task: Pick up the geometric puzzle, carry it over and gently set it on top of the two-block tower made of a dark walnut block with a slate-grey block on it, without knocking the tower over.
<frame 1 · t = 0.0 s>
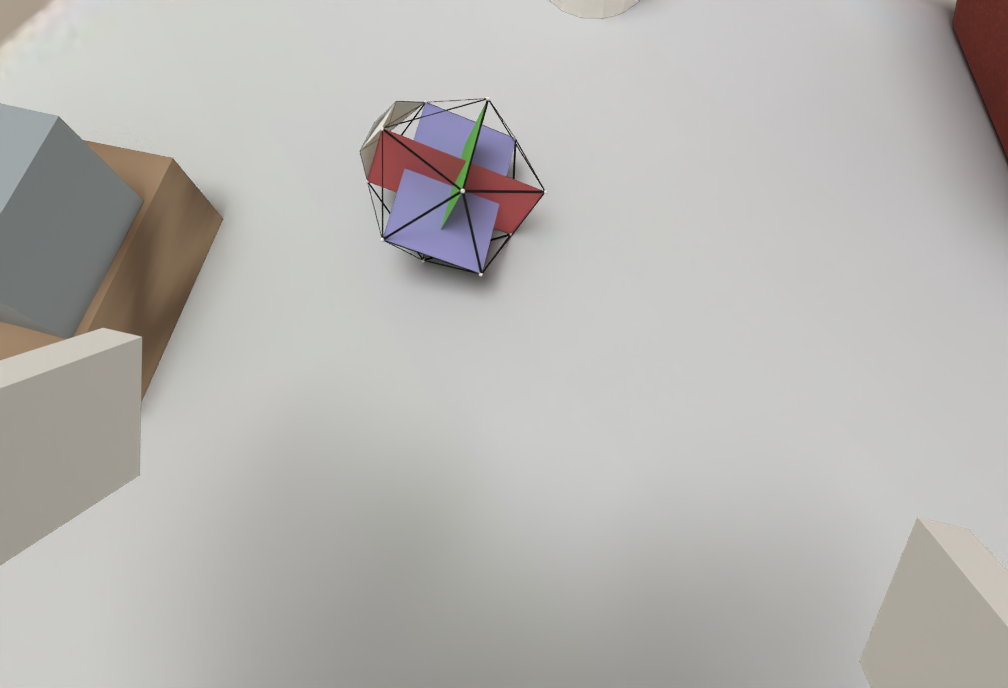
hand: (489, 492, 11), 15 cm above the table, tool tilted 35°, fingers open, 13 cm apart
tower base block: (83, 294, 30), on the table, touching tower top block
tower top block: (5, 242, 26), point 5 cm above the table, touching tower base block
geometric puzzle: (461, 228, 31), on the table
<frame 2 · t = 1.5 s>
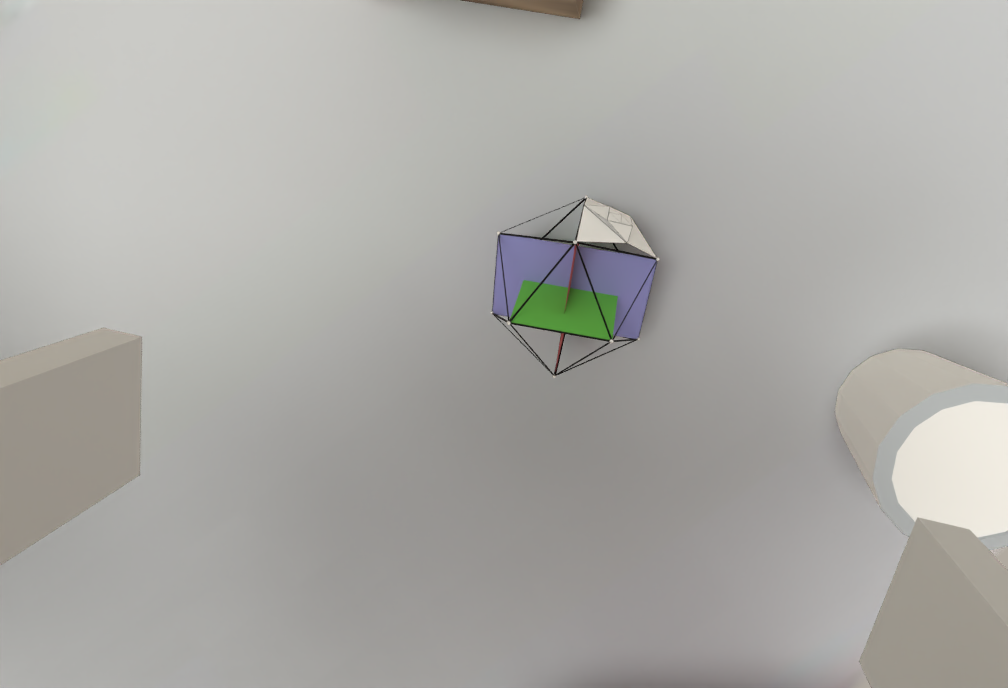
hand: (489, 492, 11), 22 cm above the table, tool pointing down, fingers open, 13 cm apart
geometric puzzle: (575, 275, 32), on the table
white cup: (897, 404, 31), on the table
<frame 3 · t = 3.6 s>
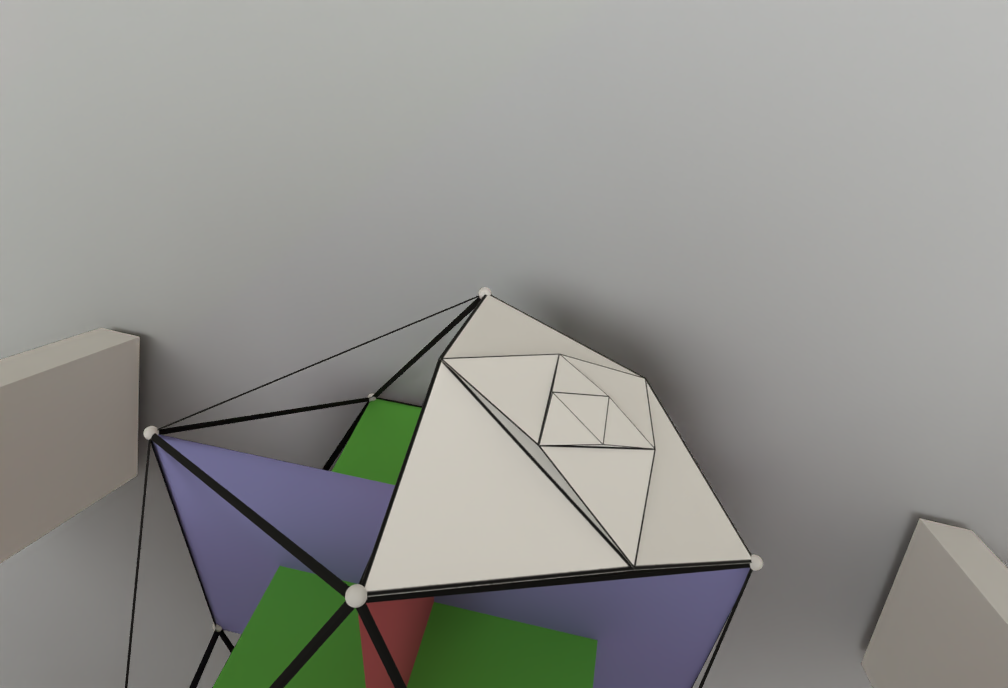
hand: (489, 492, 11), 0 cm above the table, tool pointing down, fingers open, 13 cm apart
geometric puzzle: (485, 480, 12), on the table
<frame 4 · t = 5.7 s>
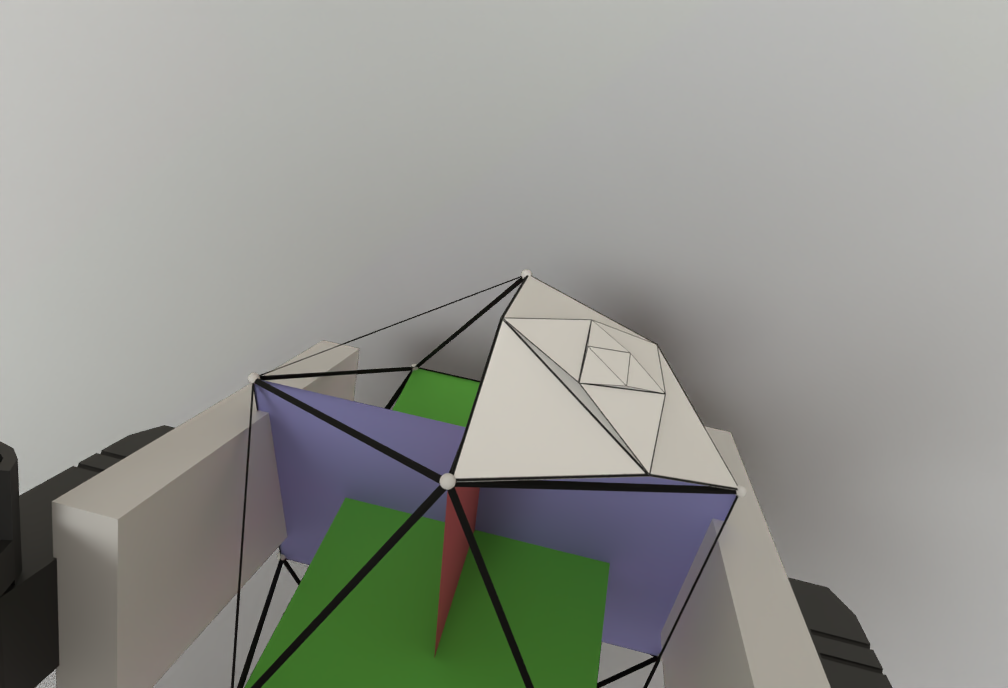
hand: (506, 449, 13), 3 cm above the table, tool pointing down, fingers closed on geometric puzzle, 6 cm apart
geometric puzzle: (510, 443, 13), point 3 cm above the table, touching gripper
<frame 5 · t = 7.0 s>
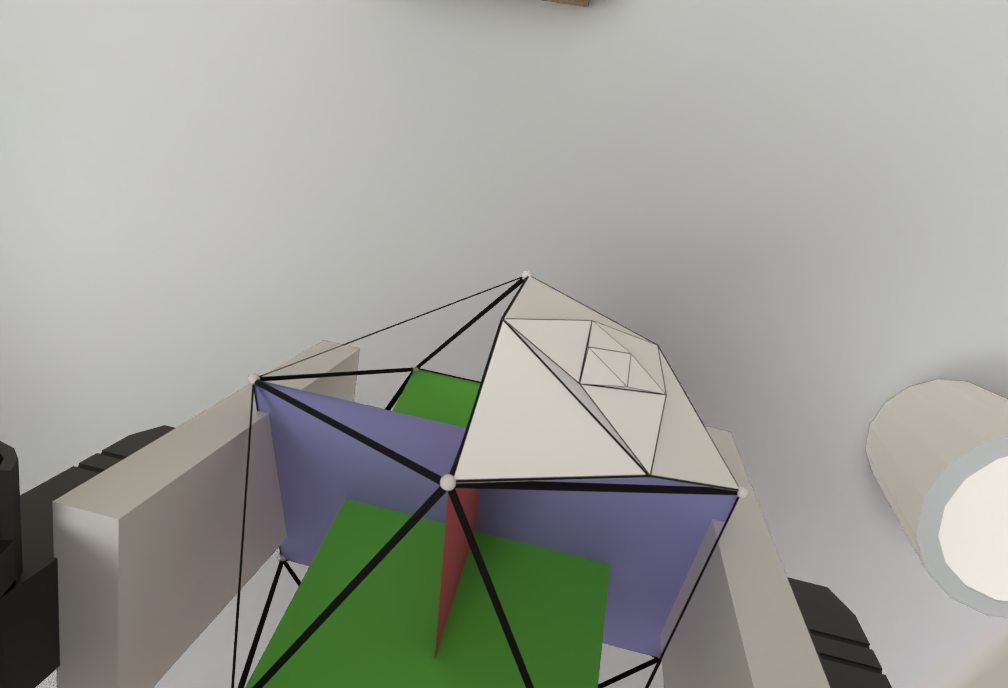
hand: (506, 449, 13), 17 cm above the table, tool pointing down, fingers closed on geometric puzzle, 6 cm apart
geometric puzzle: (510, 444, 13), point 16 cm above the table, touching gripper
white cup: (936, 441, 28), on the table
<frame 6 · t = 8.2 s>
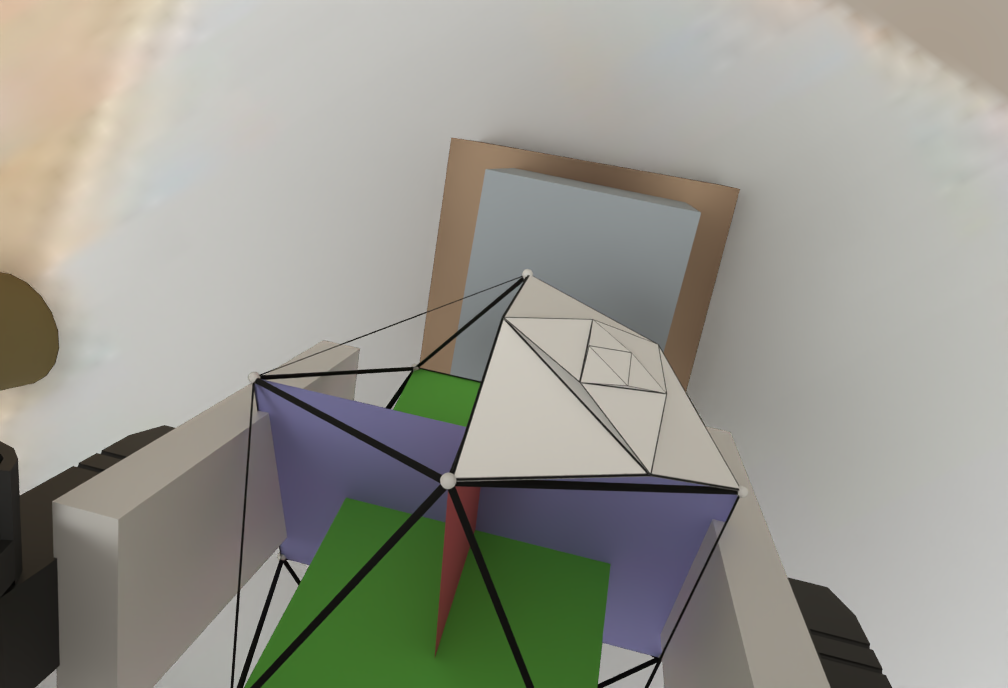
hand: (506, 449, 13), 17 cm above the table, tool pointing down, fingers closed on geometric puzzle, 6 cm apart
tower base block: (573, 280, 29), on the table, touching tower top block
cork: (9, 328, 35), on the table
tower top block: (570, 309, 24), point 5 cm above the table, touching tower base block
geometric puzzle: (510, 443, 13), point 16 cm above the table, touching gripper
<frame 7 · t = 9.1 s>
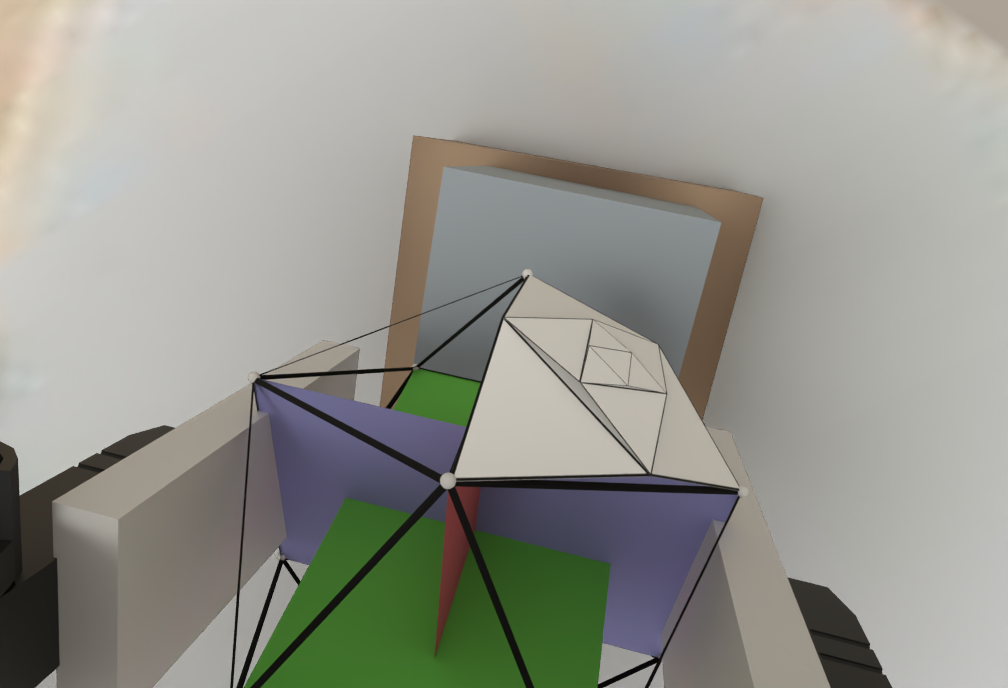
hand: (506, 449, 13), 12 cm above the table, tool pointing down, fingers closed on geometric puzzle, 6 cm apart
tower base block: (563, 301, 25), on the table, touching tower top block
tower top block: (557, 335, 20), point 5 cm above the table, touching tower base block
geometric puzzle: (510, 443, 13), point 12 cm above the table, touching gripper
when the fingers open (10 cm above the table, at t = 10.3 s): geometric puzzle stays where it is, resting on tower top block.
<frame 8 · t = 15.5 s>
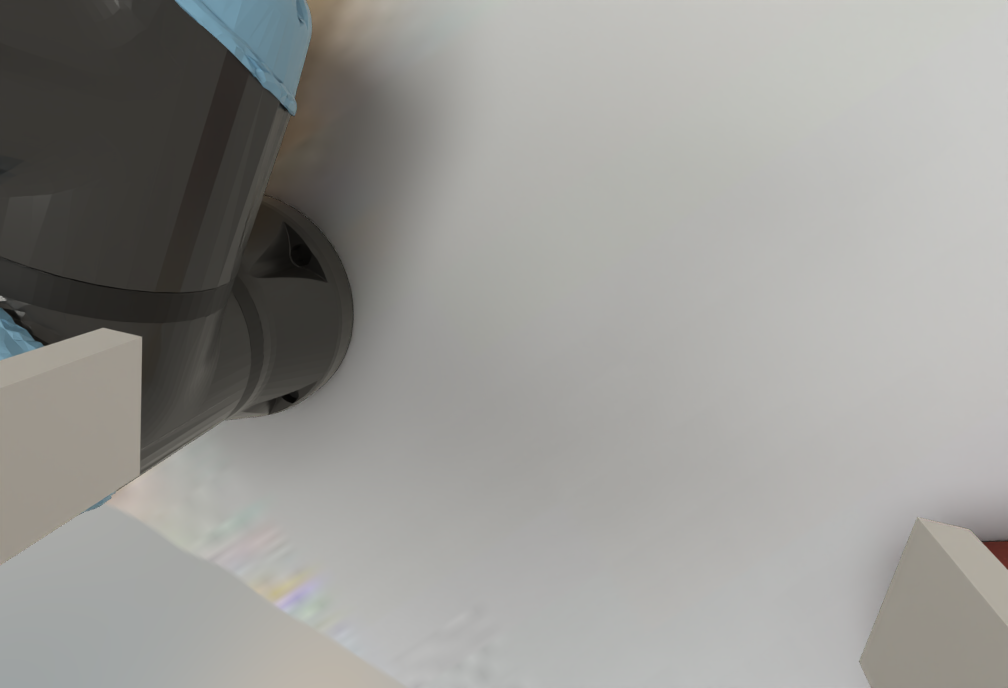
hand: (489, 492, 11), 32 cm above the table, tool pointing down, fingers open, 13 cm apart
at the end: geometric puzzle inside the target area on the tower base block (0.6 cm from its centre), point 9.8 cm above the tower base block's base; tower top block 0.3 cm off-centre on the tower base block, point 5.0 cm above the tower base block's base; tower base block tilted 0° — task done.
